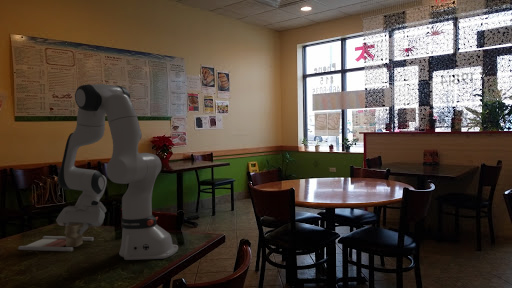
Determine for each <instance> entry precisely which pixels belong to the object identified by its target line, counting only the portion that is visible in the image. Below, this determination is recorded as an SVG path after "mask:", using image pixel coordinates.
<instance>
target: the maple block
mask: <svg viewBox="0 0 512 288" xmlns="http://www.w3.org/2000/svg"><path fill="white" fill-rule="evenodd" d="M82 227H83V226H82V224H71V225H68V226H65V228H64V229H65V230H64V232H65V231H66V234H65V237H66V240H65V241H66V245H65V247H73V248H74V247H75V248H76V247H79V246H81V245H82V244H83V243H84V241H82V237H83V234H82V235H78V234H77V232H78V230H79V229H81V228H82Z"/></svg>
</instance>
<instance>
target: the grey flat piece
mask: <svg viewBox="0 0 512 288" xmlns="http://www.w3.org/2000/svg"><path fill="white" fill-rule="evenodd" d="M94 240H95V239H94V236H82V241H83V242H84V241H87V242H90V241H91V242H93V241H94ZM64 246H65V247H64ZM17 250H20V251H21V250H22V251H48V252H49V251H50V252H54V251H55V252H73V251H74V247H66V236H61V235H58V236H57V235H56V236H53V235H44V236H42V238H41V239H38V240H36V241H34V242H32V243H29V244H26V245H20V246H18V248H17Z"/></svg>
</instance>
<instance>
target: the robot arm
mask: <svg viewBox="0 0 512 288" xmlns="http://www.w3.org/2000/svg"><path fill="white" fill-rule="evenodd" d="M74 101H75V104H76V105H77V107H78V110H77V116H76V117H77V118H76V127H75V129H74V131H73V132H71V133H69V135H68V137H67V140H66V144H65V146H64V147H65V148H64V152H63V157H62V162H61V164H60V165H61V166H60V169H59V171H58V174H57V184H58V185H59V186H60V188H62V189H63V190H70V191H71V190H75V191H82V193H81V194H80V195H79V197H78V199H77V201H76V202H75V205H68V206H66V207H64V208H63V209H62V210H61V211H60V213H59V214H58V215H57V218H56V219H55V222H56V223H57V224H58V226H61V227H62V226H68V225H71V224H82V228H81V229H79V230H78V232H77V234H78V235H82V236H83V234H84V232H86V230H87V229H89V227H100V226H101V225H103V223H104V221H105V220H104V219H105V216H106V214H105V213H106V212H107V208H106V206H104V204H103V203H102V202H101V201H100V200H101V198H102V197H103V195H104V193H105V191H106V187H107V184H108V183H107V182H108V180H107V177H108V179H109V181H111V182H113V183H114V184H121V185H122V184H124V185H125V184H126V185H127V184H128V186H127V190H126V191H125V193H124V194H123V196H122V198H121V209H122V211H121V213H122V217H121V219H120V220H121V231H122V237H121V245H120V250H119V253H118V254H119V256H120V257H122V258H123V259H124V260H125V261H129V260H130V261H131V260H132V261H134V260H138V261H139V260H156V259H157V260H159V259H167V258H169V257H171V256H173V255H175V254H176V253H177V252H178V251H179V246H178V245H177V244H174V243H173V239H172V236H171V234H170V233H169V232H168V231H166V230H165V229H164V228H162V227H161V226H160V225H158V224H157V220H158V219H159V216H156V217H155V216H154V215H153V213H152V212H153V211H152V207H153V206H152V198H153V190H154V185H155V182H156V179H157V177H158V175H159V174H160V172H161V171H162V161H161V159H160V157H159V156H158V155H156V154H153V153H150V152H139V142H140V141H141V139H142V136H143V135H142V134H143V133H142V130H141V127H140V122H139V120H138V118H139V117H138V115H137V112H136V110H135V106H134V104H133V102H132V100H131V94H130V91H129V90H128V89H127V88H126V87H124V86H120V85H111V84H105V83H99V84H98V83H96V84H90V83H89V84H87V83H86V84H82V85H80V86H78V87H77V89H76V90H75V93H74ZM106 118H107V122H108V126H109V131H110V133H111V139H112V155H111V156H110V157H111V158H110V159H109V161H108V162H107V164H106V171H105V172H106V175H107V177H106V176H105V175H103V174H102V173H101V172H100V171H99V170H96V169H95V170H94V169H89V168H88V169H86V168H80V167H77V166H75V163H76V157H77V153H78V149H79V148H81V147H83V146H84V147H85V146H88V145H93V144H95V143H97V142H99V141H100V140H101V139H102V138H103V137H104V134H105V131H106V128H105V127H106ZM63 233H64V234H65V235H66V231H65V230H64V232H63Z"/></svg>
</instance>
